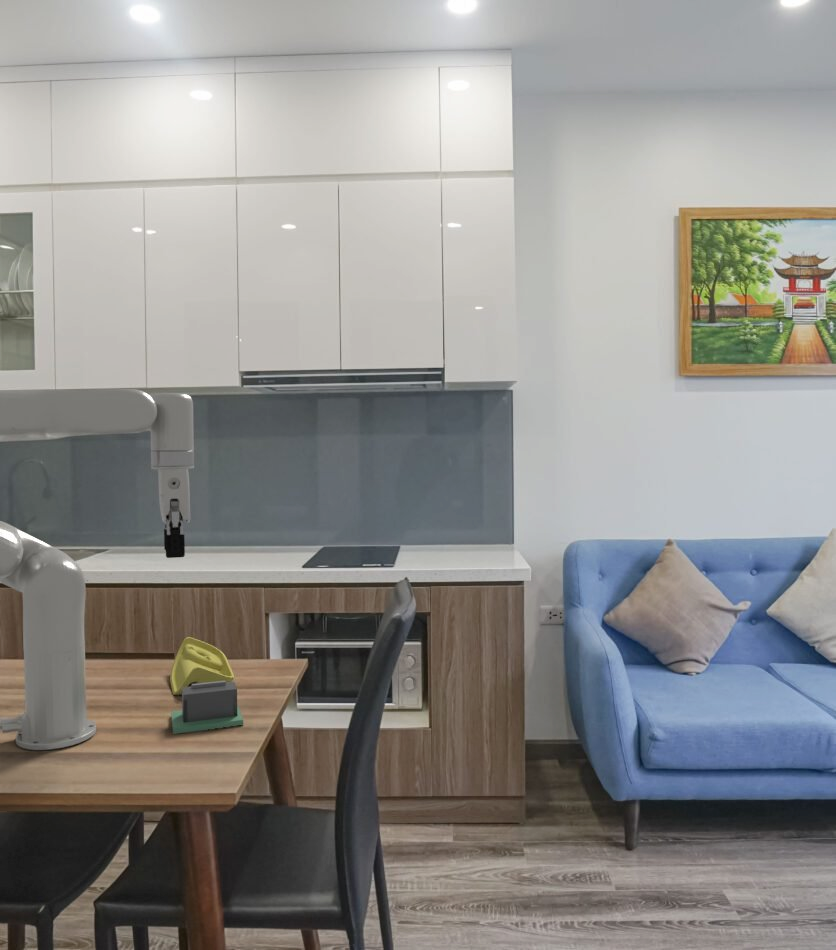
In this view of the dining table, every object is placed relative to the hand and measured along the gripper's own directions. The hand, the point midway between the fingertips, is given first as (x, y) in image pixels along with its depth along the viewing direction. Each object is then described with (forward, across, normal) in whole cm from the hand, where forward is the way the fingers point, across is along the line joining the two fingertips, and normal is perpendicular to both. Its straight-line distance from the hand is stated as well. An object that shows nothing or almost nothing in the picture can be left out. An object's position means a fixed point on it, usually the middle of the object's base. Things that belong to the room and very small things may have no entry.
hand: (174, 553), depth 143 cm
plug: (+29, -5, -6) cm, 30 cm away
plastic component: (+31, +20, -6) cm, 37 cm away
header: (+30, -5, -5) cm, 31 cm away
